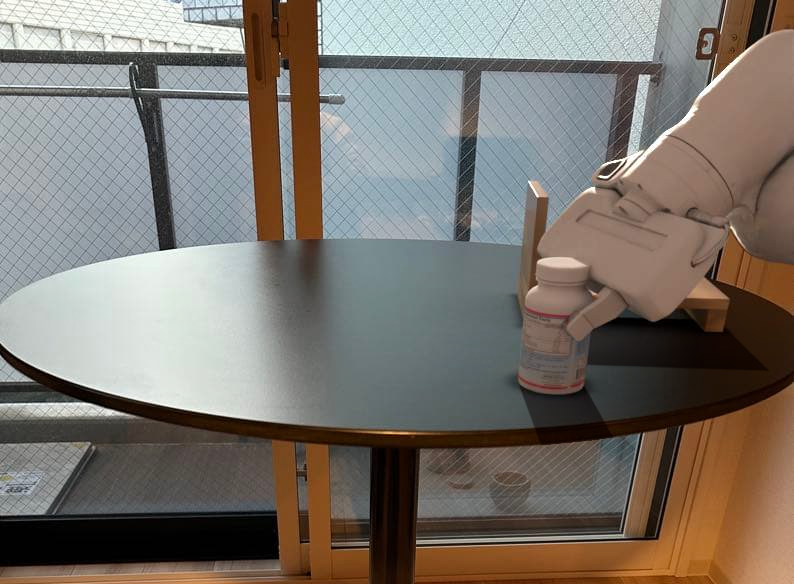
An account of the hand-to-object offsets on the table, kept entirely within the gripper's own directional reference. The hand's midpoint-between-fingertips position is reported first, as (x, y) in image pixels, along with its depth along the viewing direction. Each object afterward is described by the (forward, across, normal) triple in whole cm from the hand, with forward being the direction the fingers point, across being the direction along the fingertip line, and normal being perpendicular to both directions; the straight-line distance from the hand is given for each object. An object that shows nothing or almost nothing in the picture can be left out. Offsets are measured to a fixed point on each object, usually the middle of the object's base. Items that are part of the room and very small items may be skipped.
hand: (550, 322), depth 72 cm
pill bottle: (+4, 0, -5) cm, 6 cm away
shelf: (-9, +21, -17) cm, 29 cm away
